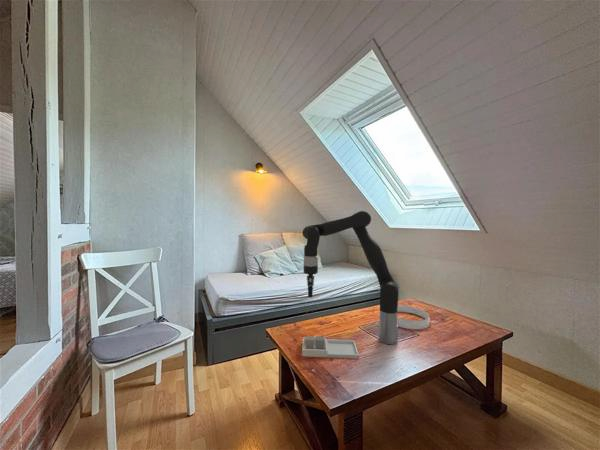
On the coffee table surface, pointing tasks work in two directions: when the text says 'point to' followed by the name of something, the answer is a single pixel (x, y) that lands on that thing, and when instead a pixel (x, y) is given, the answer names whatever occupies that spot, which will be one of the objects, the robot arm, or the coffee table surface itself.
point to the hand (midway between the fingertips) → (310, 294)
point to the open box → (314, 351)
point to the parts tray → (341, 348)
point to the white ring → (409, 323)
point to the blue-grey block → (319, 343)
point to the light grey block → (309, 342)
